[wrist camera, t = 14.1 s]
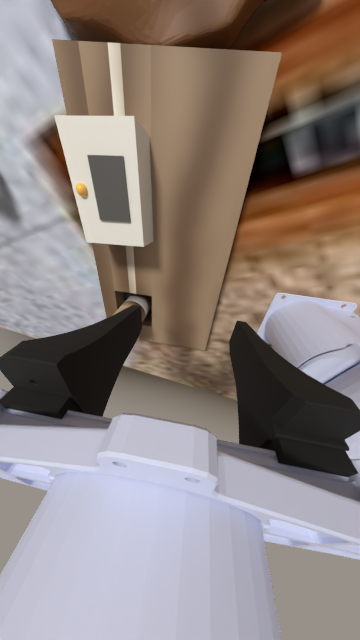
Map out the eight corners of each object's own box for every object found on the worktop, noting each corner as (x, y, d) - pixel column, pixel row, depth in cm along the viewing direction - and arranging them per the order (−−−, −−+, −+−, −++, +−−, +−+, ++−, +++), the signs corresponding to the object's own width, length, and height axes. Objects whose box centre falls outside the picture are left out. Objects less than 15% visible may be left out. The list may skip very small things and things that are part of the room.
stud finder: (149, 136, 12) (131, 112, 9) (153, 241, 16) (142, 247, 13) (85, 134, 12) (49, 112, 9) (105, 237, 16) (83, 243, 13)
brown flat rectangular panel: (268, 81, 11) (281, 52, 9) (205, 339, 25) (204, 350, 23) (78, 68, 12) (51, 39, 10) (117, 324, 26) (110, 334, 24)
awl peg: (151, 292, 22) (135, 316, 17) (152, 312, 23) (138, 339, 19) (128, 289, 22) (106, 312, 17) (131, 309, 24) (111, 335, 19)
